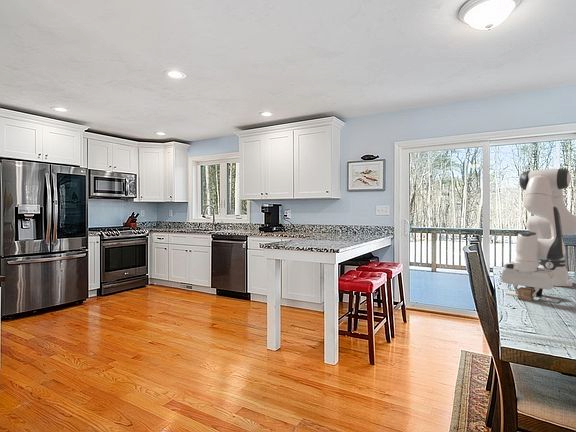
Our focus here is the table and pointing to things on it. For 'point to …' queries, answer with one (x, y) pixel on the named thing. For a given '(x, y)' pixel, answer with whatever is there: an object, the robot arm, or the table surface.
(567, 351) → the table surface
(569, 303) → the table surface
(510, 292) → the tile
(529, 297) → the letter cube
